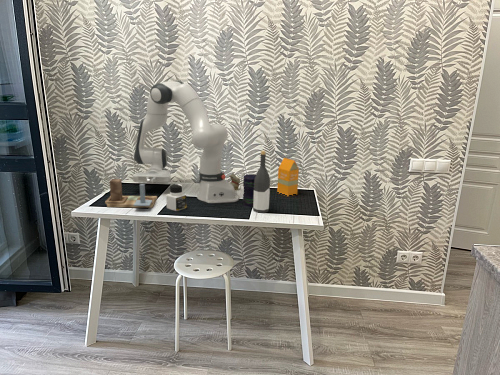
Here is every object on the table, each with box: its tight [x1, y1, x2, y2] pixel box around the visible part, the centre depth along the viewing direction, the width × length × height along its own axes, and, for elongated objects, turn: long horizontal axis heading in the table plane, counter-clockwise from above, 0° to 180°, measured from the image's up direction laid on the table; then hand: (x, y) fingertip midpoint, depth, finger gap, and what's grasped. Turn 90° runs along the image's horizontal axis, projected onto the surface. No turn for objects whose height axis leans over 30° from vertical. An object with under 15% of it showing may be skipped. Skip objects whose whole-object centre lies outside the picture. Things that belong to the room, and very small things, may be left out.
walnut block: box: [109, 178, 123, 201], centre depth 204 cm, size 4×4×11 cm
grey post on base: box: [134, 183, 152, 206], centre depth 198 cm, size 8×8×10 cm
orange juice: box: [276, 157, 300, 197], centre depth 229 cm, size 8×9×20 cm
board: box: [104, 195, 158, 209], centre depth 208 cm, size 23×14×3 cm, turn 93°
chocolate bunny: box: [229, 172, 241, 191], centre depth 235 cm, size 6×8×10 cm
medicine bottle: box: [165, 183, 188, 212], centre depth 202 cm, size 7×7×12 cm
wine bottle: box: [252, 150, 271, 214], centre depth 199 cm, size 8×8×30 cm
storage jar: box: [242, 173, 257, 208], centre depth 210 cm, size 10×10×15 cm
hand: (149, 181), depth 216 cm, fingers closed
